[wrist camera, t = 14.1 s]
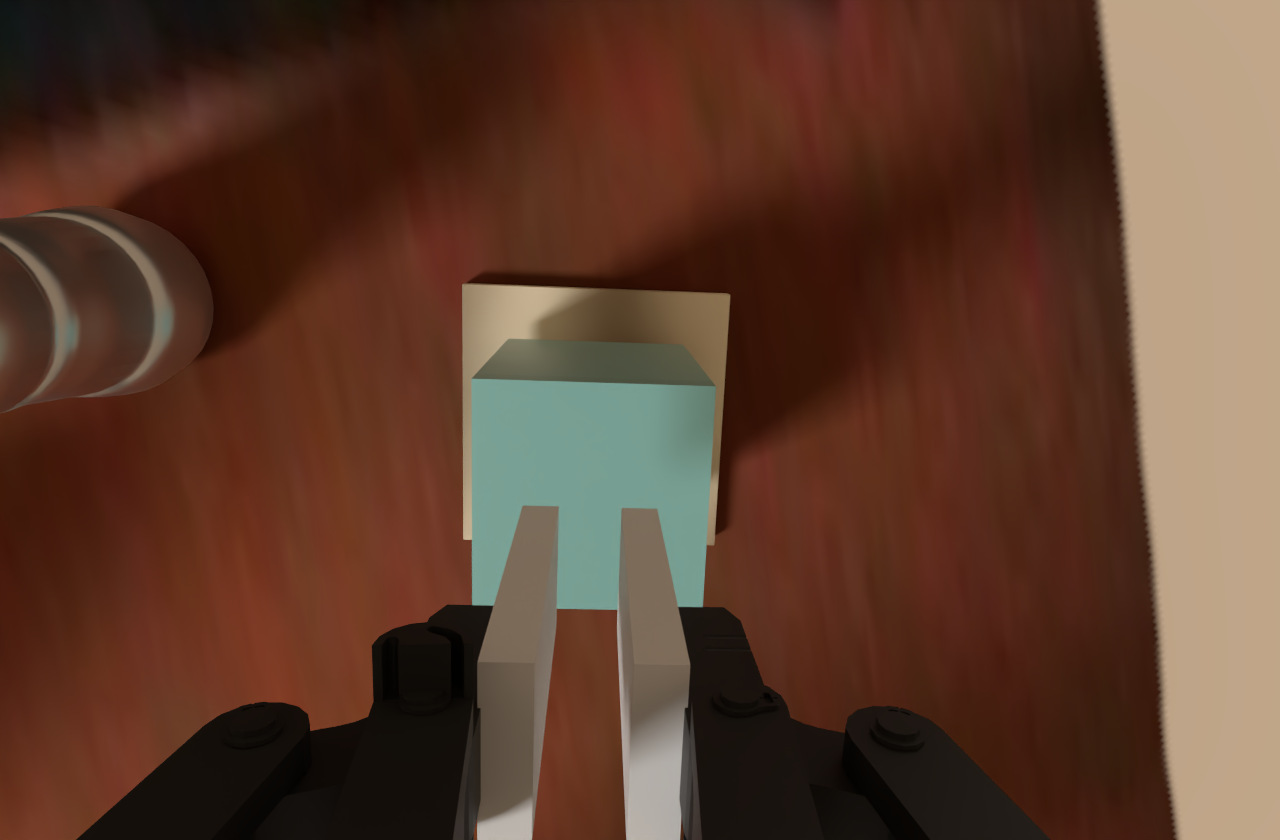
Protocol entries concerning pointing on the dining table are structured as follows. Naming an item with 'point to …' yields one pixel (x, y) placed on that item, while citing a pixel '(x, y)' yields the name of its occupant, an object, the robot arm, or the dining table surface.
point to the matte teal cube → (591, 459)
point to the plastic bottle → (95, 305)
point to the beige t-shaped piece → (597, 319)
